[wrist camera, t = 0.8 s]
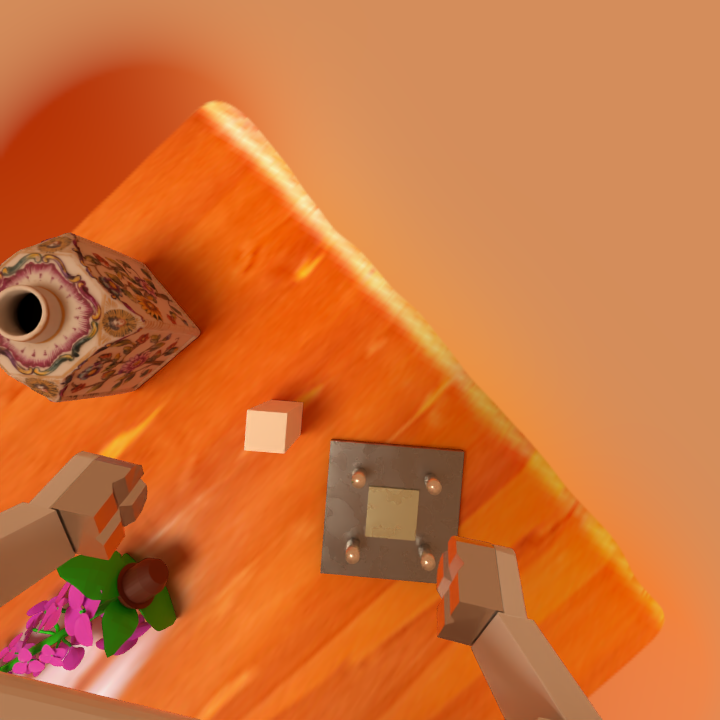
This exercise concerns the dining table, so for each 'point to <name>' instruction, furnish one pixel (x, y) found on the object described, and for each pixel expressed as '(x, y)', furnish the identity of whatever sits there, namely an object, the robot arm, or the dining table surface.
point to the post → (273, 426)
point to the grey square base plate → (390, 509)
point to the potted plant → (94, 611)
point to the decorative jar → (85, 320)
